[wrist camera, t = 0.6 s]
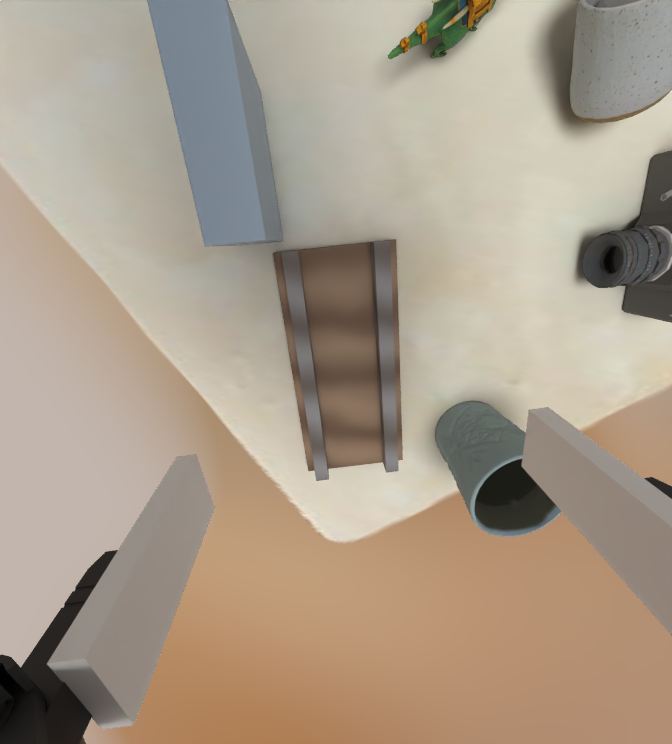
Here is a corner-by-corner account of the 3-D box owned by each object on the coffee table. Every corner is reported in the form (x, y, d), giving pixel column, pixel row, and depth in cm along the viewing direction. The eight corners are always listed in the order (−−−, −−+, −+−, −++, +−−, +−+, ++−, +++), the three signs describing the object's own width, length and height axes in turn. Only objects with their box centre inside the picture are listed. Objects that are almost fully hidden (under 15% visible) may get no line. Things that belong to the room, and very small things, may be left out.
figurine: (510, 12, 27) (586, -78, 19) (385, 105, 29) (409, 56, 21) (496, -33, 26) (570, -146, 18) (367, 67, 28) (387, 1, 20)
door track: (274, 252, 33) (270, 253, 30) (392, 239, 33) (400, 239, 30) (308, 463, 42) (308, 481, 39) (399, 452, 43) (406, 469, 39)
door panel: (214, 96, 28) (147, -2, 17) (260, 91, 28) (224, -9, 17) (243, 245, 32) (205, 246, 21) (283, 240, 32) (265, 239, 21)
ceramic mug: (556, 103, 31) (585, 146, 27) (563, -14, 25) (601, 20, 21) (708, 31, 26) (769, 70, 23) (763, -134, 20) (859, -118, 16)
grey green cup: (474, 380, 39) (536, 434, 28) (522, 427, 42) (595, 493, 31) (413, 435, 42) (448, 505, 31) (462, 476, 45) (511, 553, 34)
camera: (587, 165, 32) (699, 132, 22) (689, 149, 32) (845, 110, 22) (566, 322, 37) (649, 348, 28) (653, 309, 37) (764, 330, 28)
